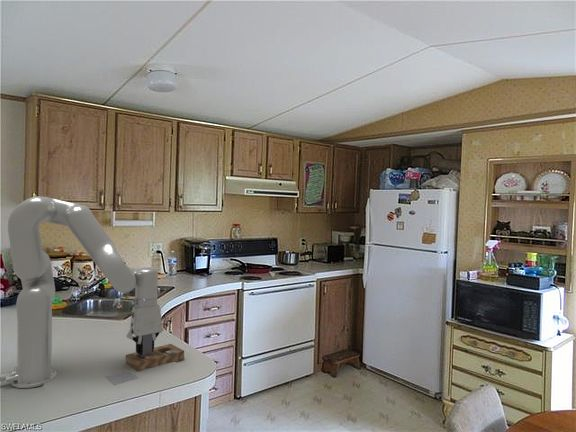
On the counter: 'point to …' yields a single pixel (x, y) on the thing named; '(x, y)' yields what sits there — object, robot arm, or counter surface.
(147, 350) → the plug
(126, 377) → the mat
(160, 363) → the socket board
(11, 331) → the counter surface
